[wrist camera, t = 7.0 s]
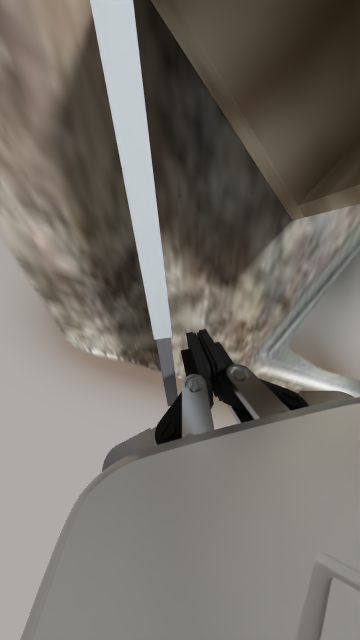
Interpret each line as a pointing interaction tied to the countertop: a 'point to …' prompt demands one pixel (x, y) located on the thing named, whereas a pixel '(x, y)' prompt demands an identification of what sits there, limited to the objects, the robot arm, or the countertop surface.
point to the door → (136, 163)
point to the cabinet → (283, 89)
